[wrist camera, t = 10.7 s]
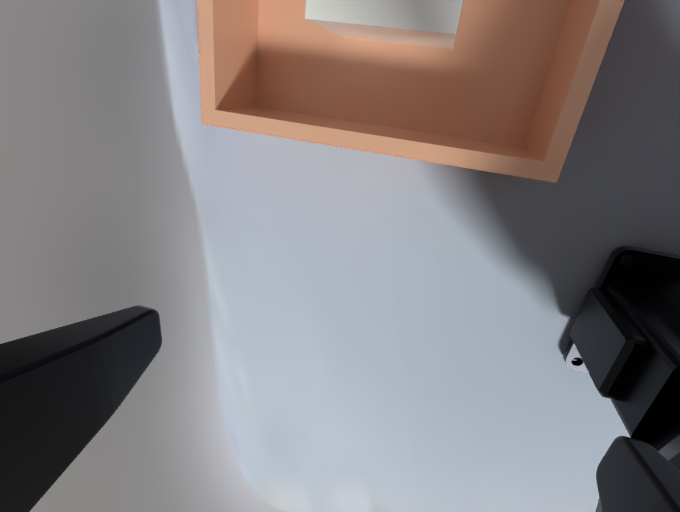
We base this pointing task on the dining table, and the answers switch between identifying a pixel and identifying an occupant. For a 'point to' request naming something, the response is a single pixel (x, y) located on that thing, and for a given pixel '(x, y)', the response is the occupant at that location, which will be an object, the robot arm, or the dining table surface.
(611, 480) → the robot arm
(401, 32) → the grey block
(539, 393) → the dining table surface
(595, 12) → the terracotta bin
